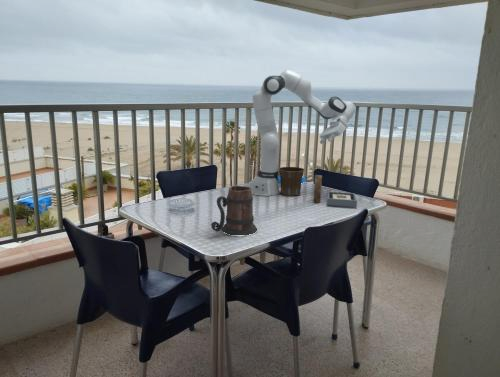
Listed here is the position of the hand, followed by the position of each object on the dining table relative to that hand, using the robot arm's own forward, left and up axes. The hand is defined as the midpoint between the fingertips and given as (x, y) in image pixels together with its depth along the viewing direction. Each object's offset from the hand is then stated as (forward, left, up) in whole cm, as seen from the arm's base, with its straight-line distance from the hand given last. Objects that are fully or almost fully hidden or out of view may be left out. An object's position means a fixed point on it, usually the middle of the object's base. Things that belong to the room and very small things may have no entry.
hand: (324, 142), depth 215 cm
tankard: (-38, -68, -34) cm, 86 cm away
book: (-25, +31, -35) cm, 53 cm away
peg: (-2, -11, -34) cm, 36 cm away
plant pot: (-19, +4, -34) cm, 40 cm away
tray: (+12, -10, -34) cm, 38 cm away
